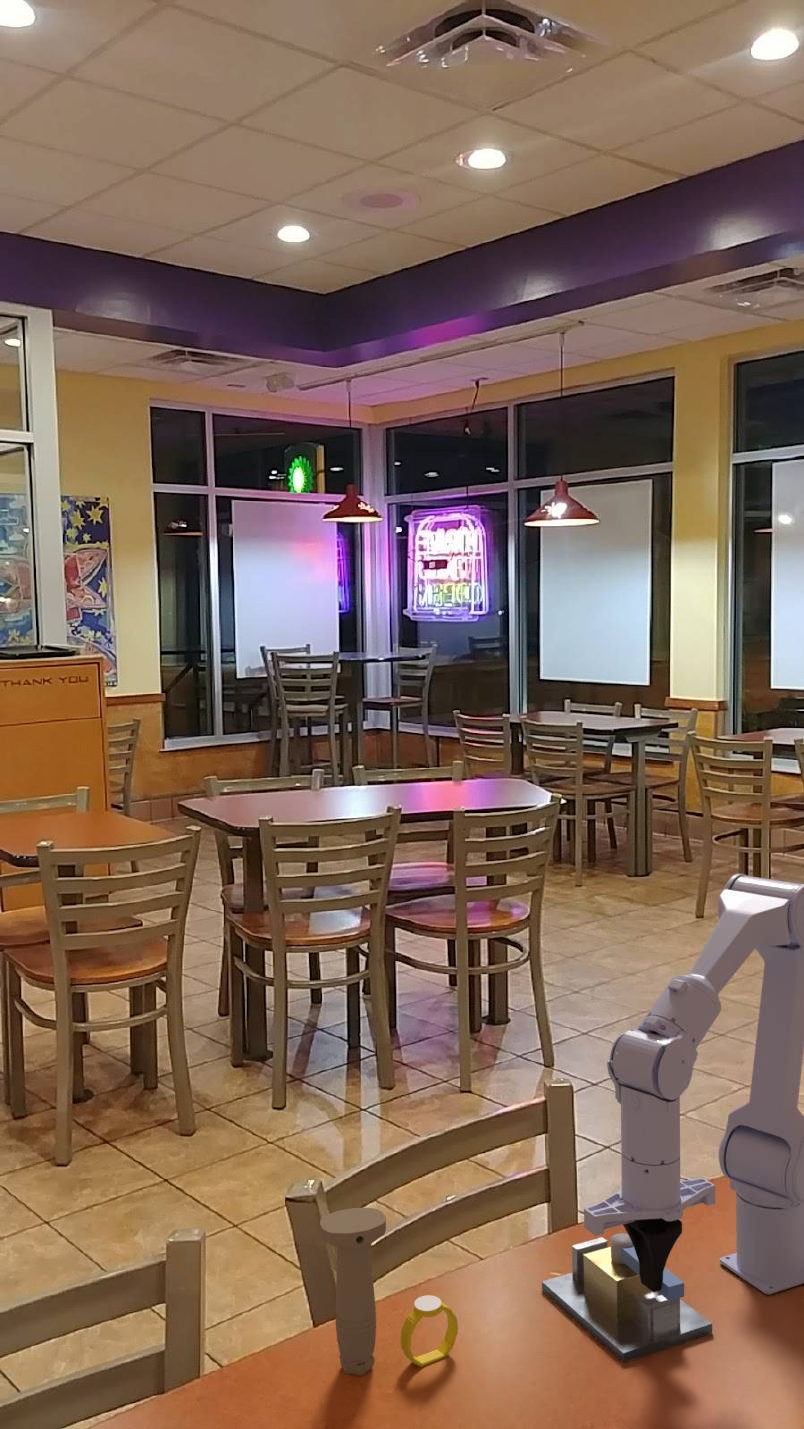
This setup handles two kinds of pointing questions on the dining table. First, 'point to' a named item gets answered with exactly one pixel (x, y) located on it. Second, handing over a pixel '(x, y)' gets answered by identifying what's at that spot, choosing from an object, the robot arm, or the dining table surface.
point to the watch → (428, 1308)
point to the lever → (627, 1255)
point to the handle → (354, 1283)
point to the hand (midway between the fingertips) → (651, 1286)
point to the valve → (621, 1305)
